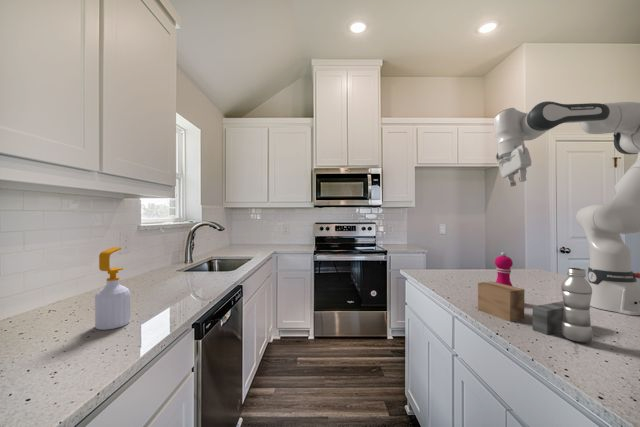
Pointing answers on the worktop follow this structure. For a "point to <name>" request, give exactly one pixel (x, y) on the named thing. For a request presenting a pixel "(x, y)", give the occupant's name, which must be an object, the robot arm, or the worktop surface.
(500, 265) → the pepper mill
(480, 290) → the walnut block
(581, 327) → the silver metal bottle
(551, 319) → the charcoal board
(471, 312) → the worktop surface
